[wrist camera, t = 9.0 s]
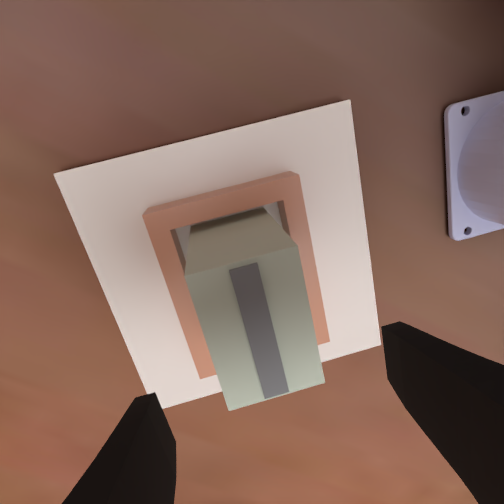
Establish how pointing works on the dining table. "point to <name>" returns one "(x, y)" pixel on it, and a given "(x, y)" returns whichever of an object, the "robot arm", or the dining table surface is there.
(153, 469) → the robot arm
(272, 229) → the striped green box
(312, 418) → the dining table surface
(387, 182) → the dining table surface
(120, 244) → the duct plate
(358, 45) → the dining table surface
